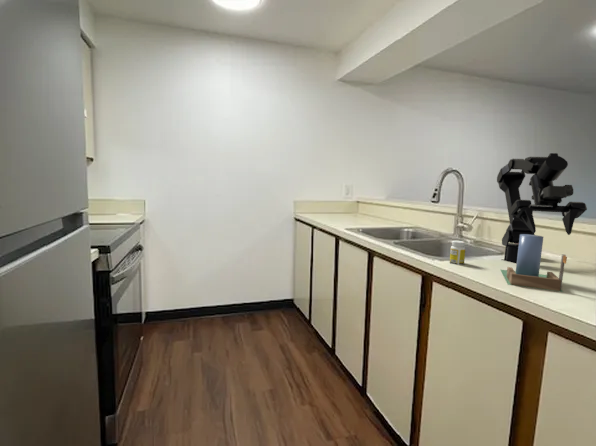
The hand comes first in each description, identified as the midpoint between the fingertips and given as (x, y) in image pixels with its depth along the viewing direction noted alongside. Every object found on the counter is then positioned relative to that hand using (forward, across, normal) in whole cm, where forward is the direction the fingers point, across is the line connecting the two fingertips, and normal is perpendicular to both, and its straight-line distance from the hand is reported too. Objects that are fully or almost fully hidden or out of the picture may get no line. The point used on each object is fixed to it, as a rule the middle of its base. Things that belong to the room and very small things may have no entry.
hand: (551, 233), depth 103 cm
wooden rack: (+16, -6, +2) cm, 17 cm away
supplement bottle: (+4, -22, +20) cm, 30 cm away
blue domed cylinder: (+11, -5, +9) cm, 15 cm away
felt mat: (+13, -5, +7) cm, 16 cm away
